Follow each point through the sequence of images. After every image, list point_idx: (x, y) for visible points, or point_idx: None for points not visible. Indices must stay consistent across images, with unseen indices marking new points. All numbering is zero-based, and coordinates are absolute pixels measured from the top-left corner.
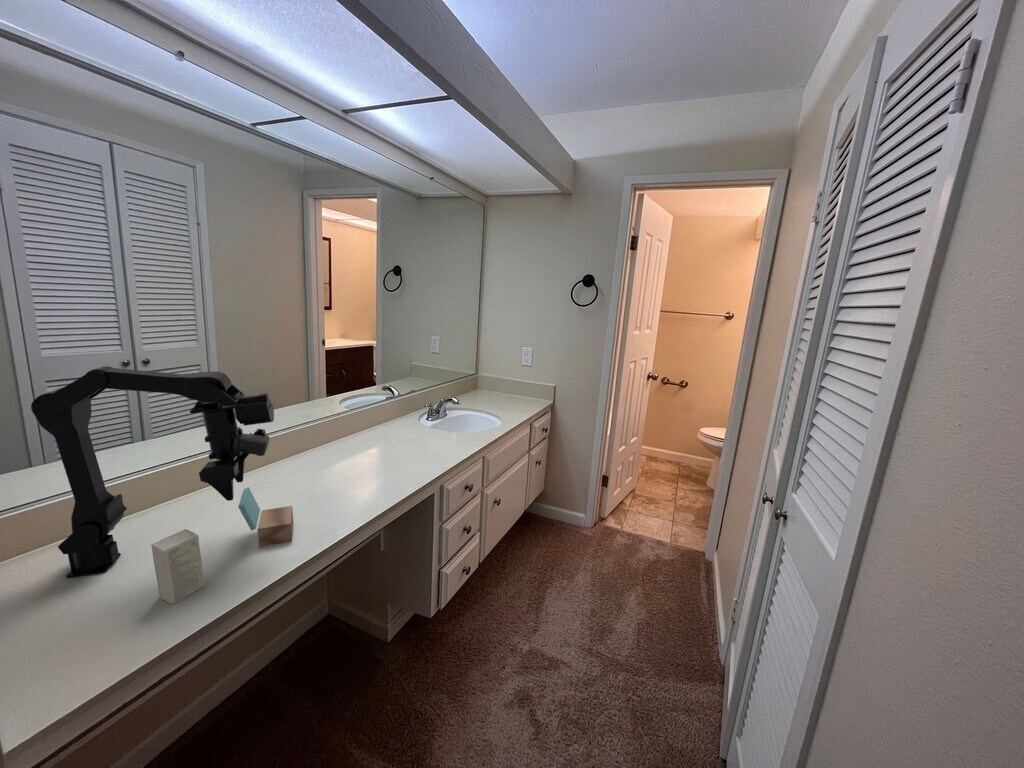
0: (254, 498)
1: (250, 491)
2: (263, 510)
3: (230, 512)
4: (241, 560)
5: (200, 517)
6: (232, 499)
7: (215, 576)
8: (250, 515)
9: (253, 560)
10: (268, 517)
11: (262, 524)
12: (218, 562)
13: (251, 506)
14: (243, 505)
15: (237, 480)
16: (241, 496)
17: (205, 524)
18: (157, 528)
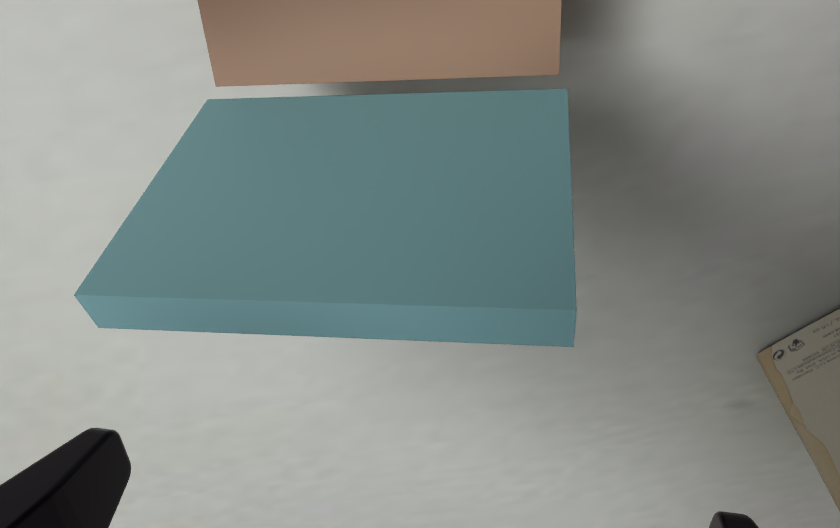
0: (152, 180)
1: (112, 248)
2: (219, 69)
3: (70, 273)
4: (678, 135)
5: (120, 395)
6: (753, 522)
7: (792, 253)
8: (517, 172)
9: (720, 56)
10: (364, 2)
11: (487, 40)
12: (634, 259)
13: (350, 188)
14: (567, 297)
15: (114, 499)
16: (298, 335)
17: (193, 367)
18: (206, 522)
